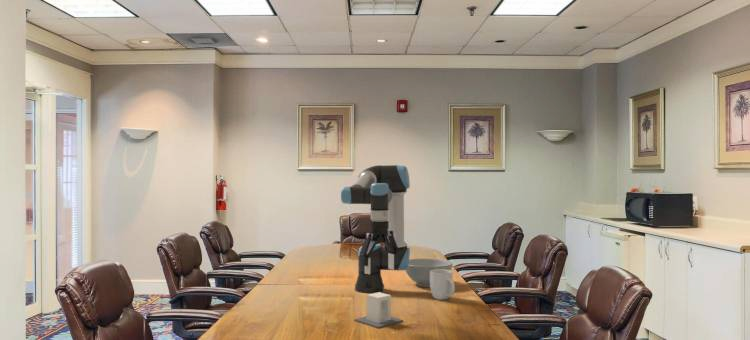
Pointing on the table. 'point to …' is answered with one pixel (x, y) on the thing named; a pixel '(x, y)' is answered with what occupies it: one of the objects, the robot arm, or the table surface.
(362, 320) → the mat
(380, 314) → the white upright block
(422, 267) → the decorative bowl
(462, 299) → the table surface
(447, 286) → the mug
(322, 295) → the table surface
